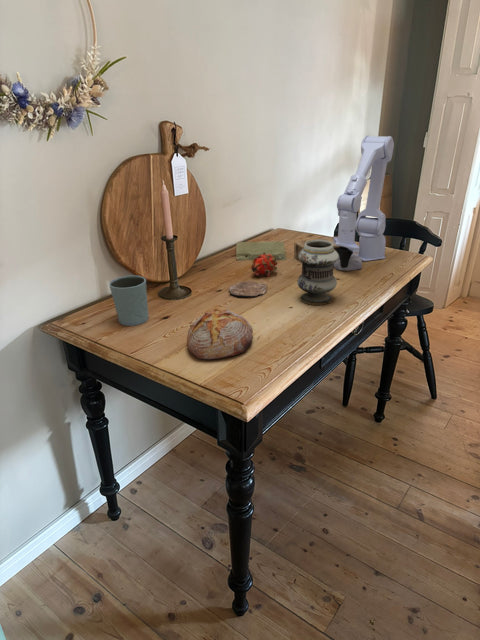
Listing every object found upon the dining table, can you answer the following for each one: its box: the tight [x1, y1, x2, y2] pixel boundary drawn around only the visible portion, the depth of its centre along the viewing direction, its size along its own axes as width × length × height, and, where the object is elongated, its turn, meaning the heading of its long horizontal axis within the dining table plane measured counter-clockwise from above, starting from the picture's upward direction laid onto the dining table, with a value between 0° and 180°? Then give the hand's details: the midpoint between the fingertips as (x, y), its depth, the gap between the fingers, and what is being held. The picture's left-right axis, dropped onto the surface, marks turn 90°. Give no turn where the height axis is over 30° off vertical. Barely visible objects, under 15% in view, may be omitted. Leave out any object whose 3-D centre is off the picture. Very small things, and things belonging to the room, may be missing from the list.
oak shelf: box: [293, 235, 340, 264], centre depth 182 cm, size 20×12×6 cm, turn 109°
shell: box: [228, 280, 268, 299], centre depth 155 cm, size 12×13×4 cm
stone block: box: [333, 253, 363, 272], centre depth 175 cm, size 12×5×10 cm
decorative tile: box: [235, 241, 287, 262], centre depth 191 cm, size 19×20×4 cm
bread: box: [186, 309, 254, 360], centre depth 121 cm, size 16×20×10 cm
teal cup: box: [108, 275, 149, 327], centre depth 136 cm, size 10×10×12 cm
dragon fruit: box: [250, 253, 278, 277], centre depth 168 cm, size 8×8×12 cm
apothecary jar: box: [296, 239, 338, 306], centre depth 144 cm, size 12×12×18 cm
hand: (344, 267), depth 169 cm, fingers closed, pressing on stone block
